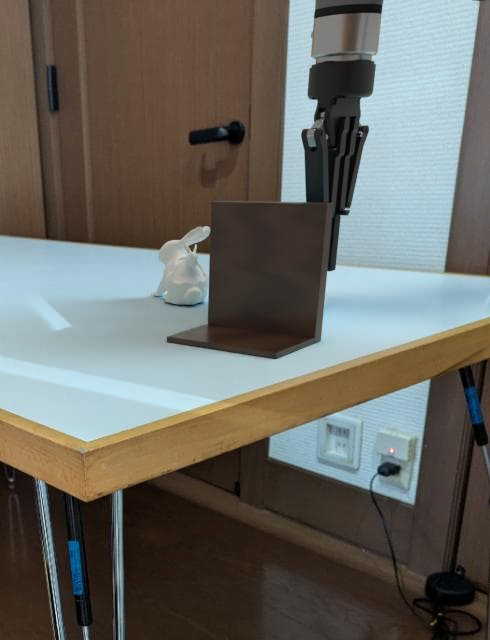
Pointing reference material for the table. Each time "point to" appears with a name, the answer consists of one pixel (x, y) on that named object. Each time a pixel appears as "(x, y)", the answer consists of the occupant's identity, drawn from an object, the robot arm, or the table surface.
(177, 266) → the rabbit figurine
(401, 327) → the table surface
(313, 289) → the bookend
